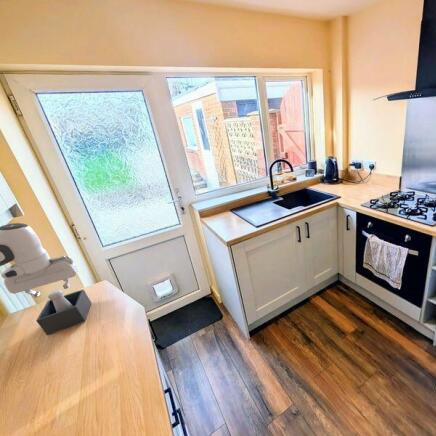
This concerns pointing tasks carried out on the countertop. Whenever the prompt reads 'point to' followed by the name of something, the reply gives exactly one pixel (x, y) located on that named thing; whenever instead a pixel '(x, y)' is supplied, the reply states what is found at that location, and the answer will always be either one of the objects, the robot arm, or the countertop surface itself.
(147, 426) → the countertop surface
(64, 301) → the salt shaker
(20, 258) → the robot arm
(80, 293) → the bin
